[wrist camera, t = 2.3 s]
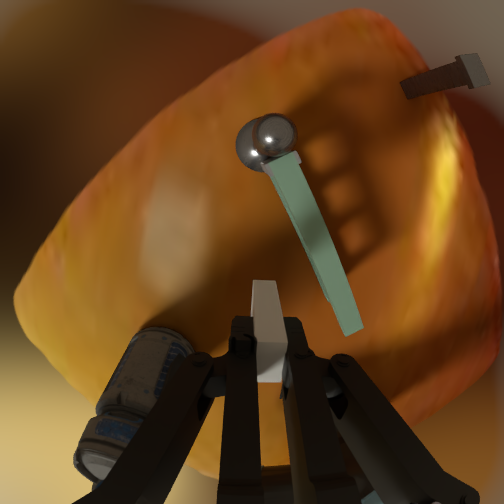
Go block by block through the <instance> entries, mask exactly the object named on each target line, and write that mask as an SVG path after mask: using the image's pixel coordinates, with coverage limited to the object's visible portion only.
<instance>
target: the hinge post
mask: <svg viewBox="0 0 504 504" xmlns="http://www.w3.org/2000/svg"><path fill="white" fill-rule="evenodd" d="M296 141H297V129H296V126H295V124H294V123H293V122H292V120H291V119H290V118H288V117H287V116H285V115H283V114H279V113H269V114H266V115H264V116H262V117H261V118H259V119H255V120H252V121H250V122H248V123H247V124H246V125H244V126H243V127H242V129H241V130H240V131H239V133H238V136H237V139H236V151H237V154H238V157H239V158H240V160H241V161H242V163H243V164H244V165H245V166H247V167H248V168H250V169H252V170H254V171H258V172H264V170H263V168H262V166H261V165H260V163H261V162H264V161H266V160H268V159H270V158H272V157H277V156H282V155H285V154H287V153H288V152H290V151H291V150H292V149H293V147H294V146H295V144H296Z"/></svg>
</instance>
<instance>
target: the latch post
mask: <svg viewBox="0 0 504 504" xmlns="http://www.w3.org/2000/svg"><path fill="white" fill-rule="evenodd" d="M455 59H456V62H453V63H450V64H447V65H444V66H441V67H438V68H436V69H433V70H430V71H427V72H425V73H422V74H419V75H417V76H414V77H412V78H409V79H407V80H404V81H402V82H400V84H401V86H402V88H403V90H404V92H405V95H406V97H407V99H411V98H415V97H418V96H422V95H426V94H430V93H434V92H438V91H442V90H446V89H451V88H455V87H460V86H464V85H468V88H469V89H472V88H477V87H480V86H485V85H489V84H490V81H489V79H488V76H487V74H486V72H485V69H484V67H483V65H482V62H481V60H480V58H479V56H478V54H477V53H475V54H465V55H459V56H456V57H455Z"/></svg>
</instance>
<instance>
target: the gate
mask: <svg viewBox="0 0 504 504" xmlns="http://www.w3.org/2000/svg"><path fill="white" fill-rule="evenodd" d="M300 163H302V161H301V159H300V157H299V155H298V153H297V151H296V150H295V151H290V152H288V153H287V154H285V155H282V156H277V157H272V158H270V159H268V160H266V161H264V162H261V163H260V165H261V166H262V168H263V170H264V172H265V173H266V174H268V175H269V176H270V178H271V180H272V182H273V184H274V186H275V188H276V190H277V192H278V194H279V196H280V198H281V200H282V203H283V205H284V207H285V209H286V211H287V213H288V215H289V217H290V219H291V221H292V224H293V226H294V228H295V230H296V232H297V234H298V236H299V239H300V241H301V243H302V245H303V247H304V250H305V252H306V254H307V256H308V258H309V261H310V263H311V265H312V267H313V270H314V272H315V274H316V277H317V279H318V281H319V283H320V286H321V288H322V290H323V293H324V295H325V297H326V299H327V301H328V302H329V301H330V303H331V305H332V307H333V310H334V312H335V315H336V317H337V319H338V322H339V325H340V327H341V329H342V331H343V333H344V335H345V337H346V336H348V335H350V334H352V333H354V332H356V331H358V330H361V329H362V328H364V327H363V324H362V321H361V318H360V315H359V312H358V309H357V306H356V303H355V300H354V297H353V294H352V292H351V289H350V286H349V283H348V280H347V278H346V275H345V272H344V270H343V267H342V264H341V262H340V259H339V257H338V254H337V251H336V249H335V246H334V244H333V241H332V239H331V236H330V234H329V232H328V229H327V227H326V224H325V222H324V220H323V217H322V215H321V213H320V210H319V208H318V206H317V203H316V201H315V199H314V197H313V194H312V192H311V190H310V188H309V186H308V183H307V181H306V179H305V177H304V175H303V173H302V171H301V168H300V166H299V164H300Z"/></svg>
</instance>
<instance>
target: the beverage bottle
mask: <svg viewBox="0 0 504 504" xmlns="http://www.w3.org/2000/svg"><path fill="white" fill-rule="evenodd" d="M194 352H195V351H194V349H193V347H192V346H191V344H190V343H189V342H188V340H186V339H185V338H183V336H182V335H180V334H179V333H177V332H175V331H173V330H171V329H168V328H163V327H161V328H159V327H150V328H146V329H143V330H141V331H139V332H138V333H136V334H135V335H134V336H133V338H132V339H131V341H130V343H129V345H128V347H127V349H126V351H125V353H124V354H123V356H122V358H121V360H120V362H119V364H118V365H117V367H116V369H115V371H114V373H113V375H112V377H111V379H110V380H109V382H108V384H107V386H106V388H105V390H104V392H103V394H102V395H101V397H100V399H99V401H98V403H97V405H96V414H97V416H96V417H93V418H91V419H90V420H89V421H88V424H87V426H86V428H85V430H84V432H83V434H82V436H81V439H80V441H79V444H78V447H77V449H76V451H75V453H74V457H73V460H74V461H73V463H74V466H75V468H76V469H77V470H78V471H79V472H80V473H81V474H82V475H83V476H85V477H86V478H87V479H89V480H90V481H92V482H93V485H92V491H93V490H95V489H96V488H98V487H100V485H101V484H102V482H103V481H104V479H105V478H106V476H107V475H108V473H109V472H110V470H111V469H112V467H113V466H114V464H115V463H116V461H117V460H118V458H119V457H120V455H121V454H122V452H123V451H124V449H125V448H126V446H127V445H128V443H129V442H130V440H131V439H132V438H133V436H134V435H135V433H136V432H137V430H138V429H139V427H140V426H141V424H142V423H143V421H144V420H145V418H146V417H147V415H148V414H149V412H150V411H151V409H152V408H153V406H154V405H155V403H156V402H157V400H158V399H159V397H160V396H161V394H162V393H163V391H164V390H165V388H166V387H167V385H168V384H169V382H170V381H171V379H172V378H173V376H174V375H175V373H176V372H177V370H178V369H179V367H180V366H181V364H182V363H183V361H184V360H185V358H186V357H187V356H188V355H189V354H191V353H194ZM170 491H171V490H170Z"/></svg>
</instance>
